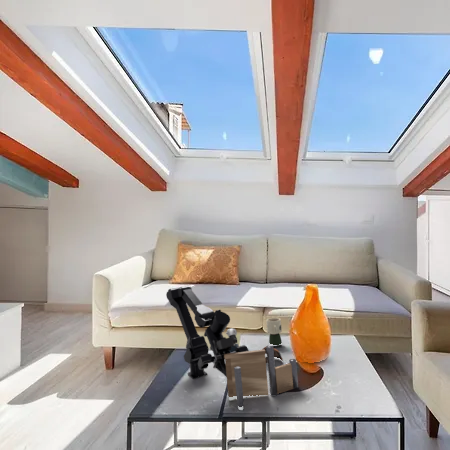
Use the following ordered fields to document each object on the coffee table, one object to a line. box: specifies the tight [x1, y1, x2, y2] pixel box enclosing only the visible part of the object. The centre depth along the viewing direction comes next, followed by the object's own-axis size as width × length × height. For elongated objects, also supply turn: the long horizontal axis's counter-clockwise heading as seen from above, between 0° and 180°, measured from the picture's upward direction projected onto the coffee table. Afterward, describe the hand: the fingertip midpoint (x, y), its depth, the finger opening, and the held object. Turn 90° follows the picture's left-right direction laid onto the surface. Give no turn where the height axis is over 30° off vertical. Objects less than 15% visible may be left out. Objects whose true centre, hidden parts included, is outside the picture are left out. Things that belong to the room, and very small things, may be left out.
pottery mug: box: [261, 346, 284, 364], centre depth 166 cm, size 12×10×8 cm
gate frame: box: [234, 345, 299, 407], centre depth 133 cm, size 4×26×17 cm, turn 117°
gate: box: [224, 348, 269, 397], centre depth 134 cm, size 2×14×16 cm, turn 95°
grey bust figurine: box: [225, 328, 240, 352], centre depth 184 cm, size 6×8×11 cm
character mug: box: [265, 317, 283, 345], centre depth 187 cm, size 11×7×13 cm, turn 0°
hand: (232, 378), depth 134 cm, fingers closed
